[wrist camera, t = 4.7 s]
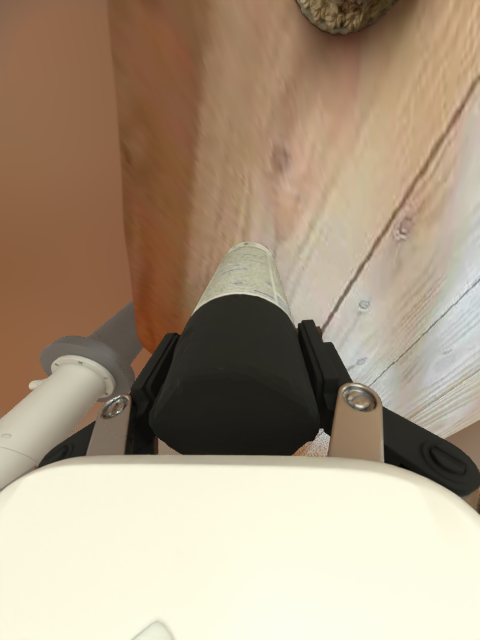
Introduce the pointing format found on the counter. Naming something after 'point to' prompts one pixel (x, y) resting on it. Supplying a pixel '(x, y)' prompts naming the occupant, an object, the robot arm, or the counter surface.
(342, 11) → the cake
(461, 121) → the counter surface
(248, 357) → the spray can
